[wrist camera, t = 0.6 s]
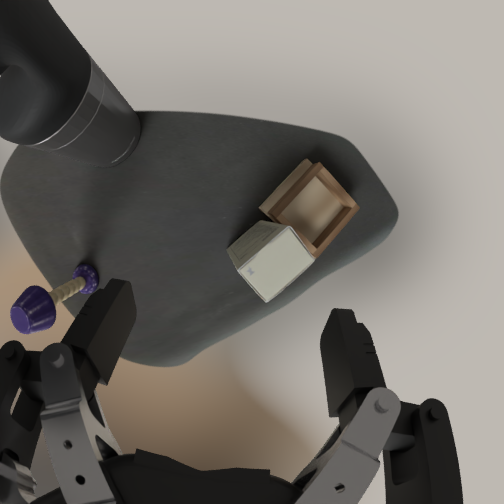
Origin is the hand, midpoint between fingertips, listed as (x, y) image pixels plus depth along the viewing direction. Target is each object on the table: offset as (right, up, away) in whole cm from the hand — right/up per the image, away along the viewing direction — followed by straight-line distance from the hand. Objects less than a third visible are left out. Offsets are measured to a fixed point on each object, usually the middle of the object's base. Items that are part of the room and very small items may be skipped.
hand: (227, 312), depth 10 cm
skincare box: (+1, +3, +26) cm, 26 cm away
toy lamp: (-22, -1, +23) cm, 32 cm away
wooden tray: (+8, +8, +26) cm, 28 cm away
